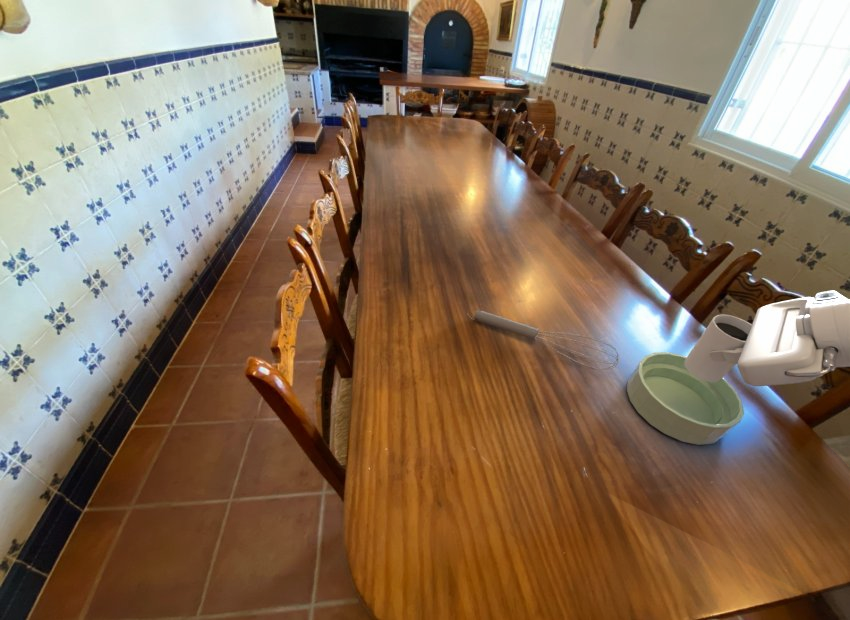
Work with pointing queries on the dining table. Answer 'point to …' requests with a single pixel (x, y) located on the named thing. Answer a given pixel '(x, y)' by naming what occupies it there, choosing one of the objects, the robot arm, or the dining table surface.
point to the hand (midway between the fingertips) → (715, 346)
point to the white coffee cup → (717, 347)
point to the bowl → (683, 400)
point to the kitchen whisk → (532, 333)
